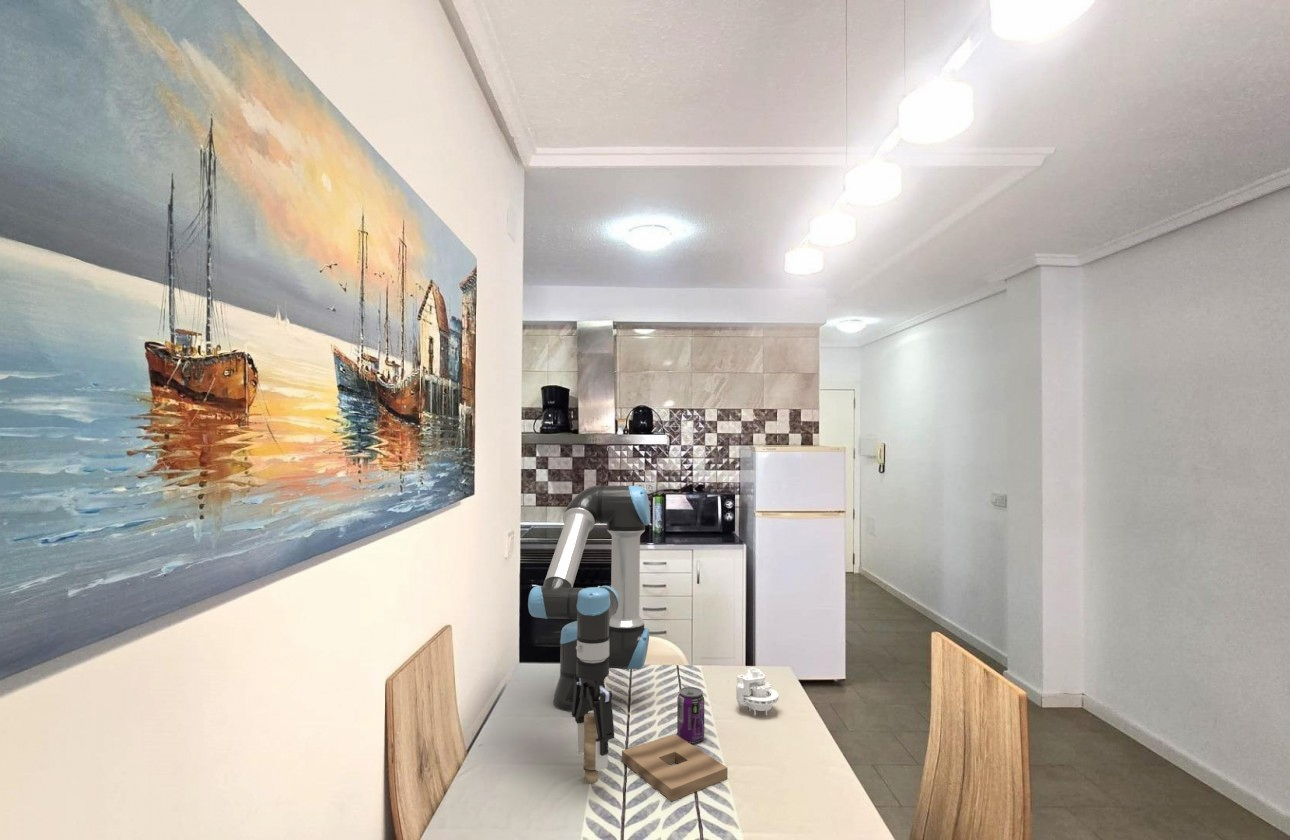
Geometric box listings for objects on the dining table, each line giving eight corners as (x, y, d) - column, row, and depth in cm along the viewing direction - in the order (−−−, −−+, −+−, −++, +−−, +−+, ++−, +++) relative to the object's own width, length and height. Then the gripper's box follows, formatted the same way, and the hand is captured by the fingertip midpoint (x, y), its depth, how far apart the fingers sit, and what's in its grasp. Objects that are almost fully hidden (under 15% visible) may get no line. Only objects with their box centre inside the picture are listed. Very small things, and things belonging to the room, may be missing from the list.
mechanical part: (776, 722, 163) (776, 678, 164) (733, 716, 167) (733, 673, 168) (780, 706, 174) (780, 665, 175) (740, 701, 178) (739, 661, 179)
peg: (580, 778, 134) (581, 715, 135) (594, 773, 136) (595, 711, 137) (588, 785, 131) (588, 720, 132) (602, 780, 133) (603, 716, 134)
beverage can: (702, 746, 150) (702, 697, 150) (675, 743, 151) (675, 695, 152) (705, 733, 157) (705, 687, 157) (679, 731, 158) (679, 685, 159)
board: (621, 761, 142) (621, 750, 142) (674, 743, 151) (674, 733, 151) (671, 801, 125) (671, 789, 125) (727, 778, 134) (727, 767, 134)
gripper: (557, 648, 142) (556, 745, 141) (601, 675, 125) (600, 786, 123) (585, 643, 146) (584, 737, 145) (631, 668, 129) (630, 775, 127)
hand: (591, 759), depth 134 cm, fingers open, 8 cm apart
